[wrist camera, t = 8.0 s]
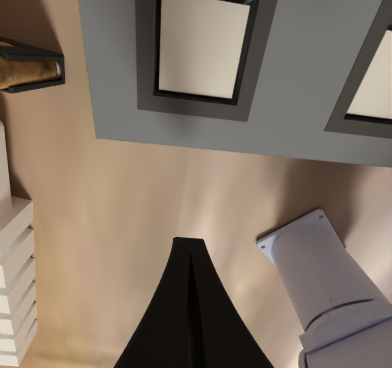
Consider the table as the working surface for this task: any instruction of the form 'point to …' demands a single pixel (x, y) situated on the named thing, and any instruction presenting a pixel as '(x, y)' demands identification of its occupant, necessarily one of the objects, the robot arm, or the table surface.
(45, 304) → the table surface
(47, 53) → the ammunition clip
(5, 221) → the organizer
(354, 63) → the block
